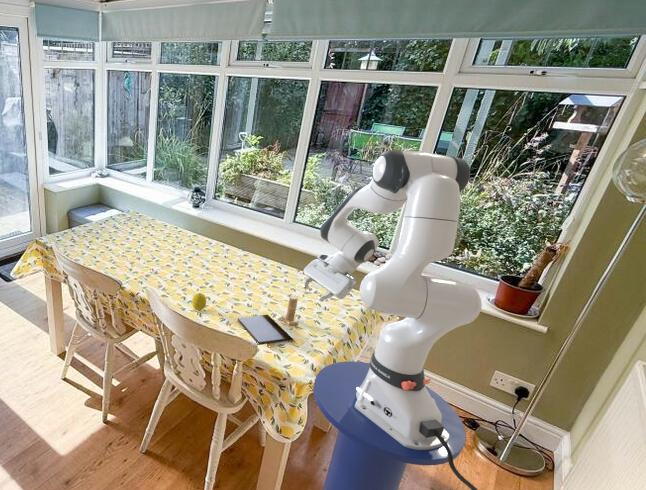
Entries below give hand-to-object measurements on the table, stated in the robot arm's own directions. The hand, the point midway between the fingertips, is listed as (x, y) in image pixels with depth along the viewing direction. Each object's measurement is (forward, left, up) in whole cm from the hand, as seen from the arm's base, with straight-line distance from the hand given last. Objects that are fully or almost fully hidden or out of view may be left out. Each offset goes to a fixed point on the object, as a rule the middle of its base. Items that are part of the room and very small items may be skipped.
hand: (310, 293), depth 151 cm
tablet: (0, +14, -13) cm, 20 cm away
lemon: (+18, +36, -14) cm, 43 cm away
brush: (0, +7, -12) cm, 14 cm away
